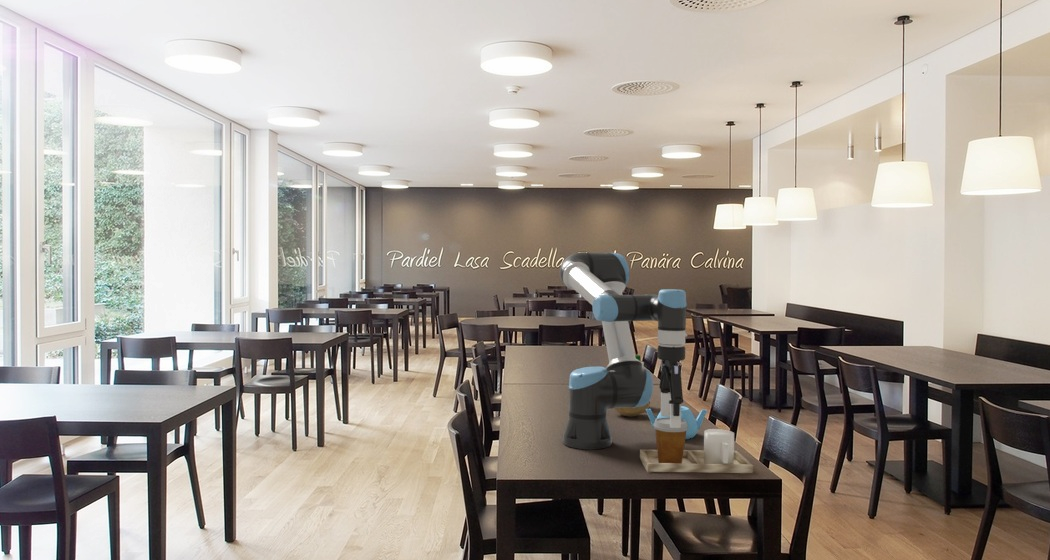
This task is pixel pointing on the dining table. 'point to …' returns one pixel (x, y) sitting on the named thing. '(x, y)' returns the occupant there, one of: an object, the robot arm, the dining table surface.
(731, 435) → the white mug
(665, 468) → the cup carrier
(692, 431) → the teapot
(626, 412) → the potato
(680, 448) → the disposable coffee cup
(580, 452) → the dining table surface
